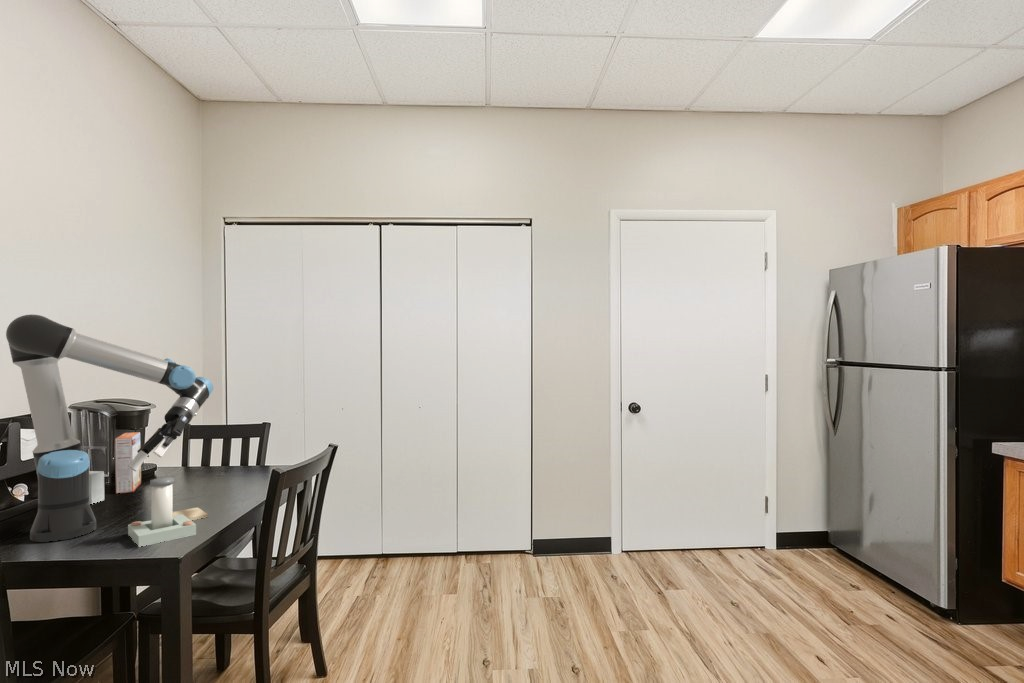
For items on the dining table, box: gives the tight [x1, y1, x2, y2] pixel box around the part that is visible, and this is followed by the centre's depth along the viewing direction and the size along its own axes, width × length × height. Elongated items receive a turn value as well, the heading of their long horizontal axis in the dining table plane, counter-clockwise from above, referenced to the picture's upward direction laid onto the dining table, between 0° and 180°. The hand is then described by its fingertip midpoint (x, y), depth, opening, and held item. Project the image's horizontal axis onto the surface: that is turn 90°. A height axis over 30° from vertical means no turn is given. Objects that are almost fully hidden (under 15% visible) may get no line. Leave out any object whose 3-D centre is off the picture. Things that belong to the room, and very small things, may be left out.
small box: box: [89, 470, 105, 505], centre depth 195 cm, size 8×6×10 cm
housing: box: [127, 514, 197, 548], centre depth 160 cm, size 14×14×4 cm
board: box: [173, 507, 209, 521], centre depth 177 cm, size 11×11×1 cm
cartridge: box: [149, 476, 175, 530], centre depth 160 cm, size 6×6×16 cm
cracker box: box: [114, 431, 142, 494], centre depth 213 cm, size 14×6×21 cm, turn 23°
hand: (144, 461), depth 172 cm, fingers open, 13 cm apart
